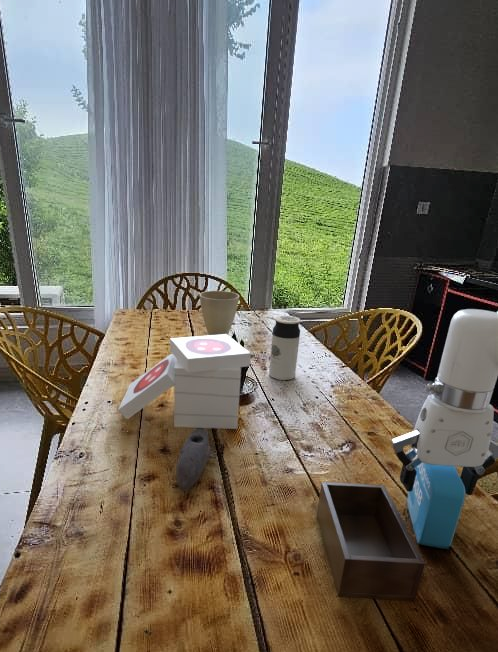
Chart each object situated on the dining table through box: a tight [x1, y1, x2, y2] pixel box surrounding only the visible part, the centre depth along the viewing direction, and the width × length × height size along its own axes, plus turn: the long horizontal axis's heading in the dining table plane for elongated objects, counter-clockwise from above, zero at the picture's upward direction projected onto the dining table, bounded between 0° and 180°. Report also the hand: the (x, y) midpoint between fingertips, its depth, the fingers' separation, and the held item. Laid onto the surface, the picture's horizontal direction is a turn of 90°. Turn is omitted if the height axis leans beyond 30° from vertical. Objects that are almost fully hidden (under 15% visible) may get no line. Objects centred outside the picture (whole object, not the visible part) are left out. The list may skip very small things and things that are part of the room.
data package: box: [406, 462, 466, 550], centre depth 73 cm, size 12×4×12 cm, turn 167°
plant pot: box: [199, 290, 240, 335], centre depth 169 cm, size 15×15×16 cm
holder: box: [316, 481, 426, 602], centre depth 68 cm, size 11×17×7 cm, turn 178°
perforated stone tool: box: [175, 428, 211, 492], centre depth 85 cm, size 15×5×7 cm, turn 167°
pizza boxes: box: [117, 334, 252, 430], centre depth 107 cm, size 19×30×18 cm, turn 90°
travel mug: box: [268, 315, 301, 381], centre depth 133 cm, size 8×8×18 cm
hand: (435, 488), depth 73 cm, fingers open, 9 cm apart
